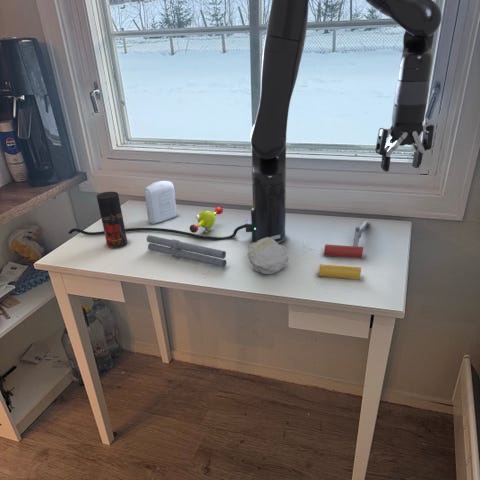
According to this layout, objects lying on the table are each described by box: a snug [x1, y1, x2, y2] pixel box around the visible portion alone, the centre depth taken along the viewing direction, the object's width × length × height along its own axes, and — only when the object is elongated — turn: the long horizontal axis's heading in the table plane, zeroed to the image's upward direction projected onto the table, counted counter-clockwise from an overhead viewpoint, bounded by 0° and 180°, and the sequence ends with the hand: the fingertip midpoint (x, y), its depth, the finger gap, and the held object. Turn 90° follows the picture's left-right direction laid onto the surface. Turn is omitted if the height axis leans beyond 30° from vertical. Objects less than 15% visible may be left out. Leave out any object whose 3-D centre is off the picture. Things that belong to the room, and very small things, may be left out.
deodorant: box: [96, 191, 128, 249], centre depth 135 cm, size 6×6×15 cm
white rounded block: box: [143, 180, 178, 225], centre depth 152 cm, size 10×4×12 cm, turn 134°
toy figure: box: [189, 206, 224, 234], centre depth 142 cm, size 18×6×7 cm, turn 154°
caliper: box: [352, 220, 369, 247], centre depth 135 cm, size 20×1×6 cm, turn 159°
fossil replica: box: [247, 237, 290, 275], centre depth 120 cm, size 12×8×10 cm
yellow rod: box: [318, 263, 362, 281], centre depth 116 cm, size 10×3×3 cm, turn 75°
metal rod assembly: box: [146, 234, 227, 268], centre depth 128 cm, size 26×3×5 cm, turn 60°
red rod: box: [323, 243, 364, 259], centre depth 126 cm, size 10×3×3 cm, turn 75°
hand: (400, 169), depth 121 cm, fingers open, 8 cm apart
